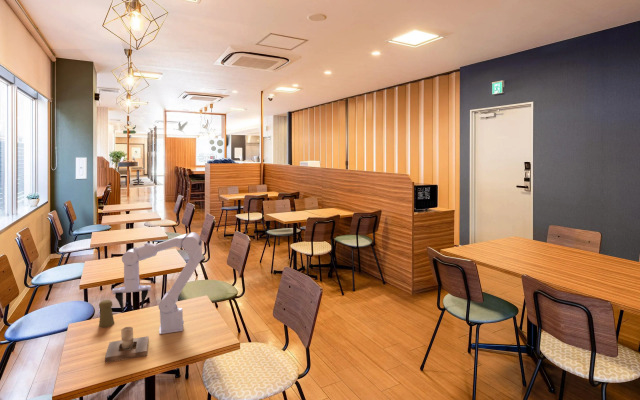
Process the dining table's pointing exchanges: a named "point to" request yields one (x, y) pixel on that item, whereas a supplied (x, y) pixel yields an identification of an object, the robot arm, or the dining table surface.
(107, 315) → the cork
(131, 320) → the dining table surface
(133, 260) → the robot arm
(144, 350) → the walnut board
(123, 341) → the ash peg
